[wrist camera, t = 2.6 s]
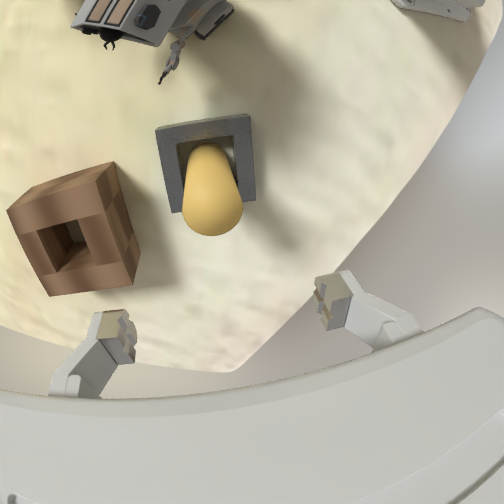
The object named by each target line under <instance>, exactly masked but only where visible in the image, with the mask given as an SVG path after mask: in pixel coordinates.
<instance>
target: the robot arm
mask: <svg viewBox="0 0 504 504" xmlns="http://www.w3.org/2000/svg"><path fill="white" fill-rule="evenodd" d="M392 1H393V3H394V4H395V5H396V6H398V7H400V8H404V9H410V10H416V11H421V12H426V13H431V14H435V15H440V16H444V17H448V18H451V19H455V20H459V21H463V22H464V21H468V19H469V17H470V12H471V8H475V7H481V6H483V4H484V2H485V0H408V1H407V0H392ZM315 286H316V290H315V291H314V295H313V299H314V305H315V307H316V310H317V312H318V313H320V314H322V317H321V320H322V323H323V325H324V327H325V329H326V331H328V330H332V329H336V328H341V327H345V328H346V329H347V330H349V331H350V332H351V333H353V334H354V335H356V336H357V337H358V338H360V339H361V340H363V341H364V342H365V343H367V344H368V345H370V346H371V347H372V348H374V349H373V351H372V353H371V354H368V355H365V356H362V357H359V358H356V359H353V360H350V361H347V362H344V363H340V364H337V365H333V366H330V367H327V368H323V369H319V370H316V371H312V372H308V373H304V374H300V375H297V376H292V377H289V378H284V379H279V380H275V381H270V382H266V383H261V384H256V385H250V386H245V387H240V388H234V389H227V390H220V391H214V392H206V393H199V394H189V395H179V396H168V397H154V398H131V399H102V398H101V397H100V396H99V395H100V393H101V392H102V390H103V389H104V387H105V385H106V384H107V382H108V381H109V379H110V377H111V376H112V374H113V373H114V371H115V370H116V368H117V366H118V365H122V364H132V363H135V354H136V350H135V349H134V345H135V344H136V343H137V331H136V328H135V325H134V323H133V322H132V321H130V320H129V314H128V312H127V310H125V309H120V310H110V311H103V312H95V313H94V314H93V316H92V319H91V323H90V326H89V330H88V334H87V337H86V340H85V341H82V342H81V343H80V344H79V346H78V347H77V348H76V349H75V350H74V351H73V352H72V353H71V354H70V356H69V357H68V358H67V359H66V360H65V361H64V362H63V363H62V364H61V365H60V367H59V368H58V369H57V370H56V371H55V372H54V374H53V377H52V381H51V385H50V390H49V394H48V396H43V395H33V394H26V393H19V392H13V391H7V390H2V389H0V504H504V318H502V317H500V316H499V315H497V314H495V313H493V312H491V311H489V310H487V309H484V308H481V307H477V308H474V309H472V310H470V311H468V312H466V313H464V314H462V315H460V316H458V317H456V318H454V319H452V320H450V321H448V322H446V323H444V324H442V325H440V326H438V327H436V328H434V329H431V330H429V331H427V332H424V331H423V330H422V329H421V327H420V326H419V324H418V323H417V321H416V320H415V319H414V317H413V316H412V314H411V313H409V312H406V311H405V310H403V309H401V308H398V307H396V306H394V305H392V304H390V303H388V302H386V301H384V300H382V299H380V298H378V297H376V296H374V295H372V294H370V293H365V292H364V291H363V289H362V287H361V286H360V285H359V283H358V282H357V280H356V279H355V278H354V276H353V275H352V273H351V272H350V271H349V270H345V271H340V272H337V273H332V274H327V275H322V276H318V277H316V278H315Z"/></svg>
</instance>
